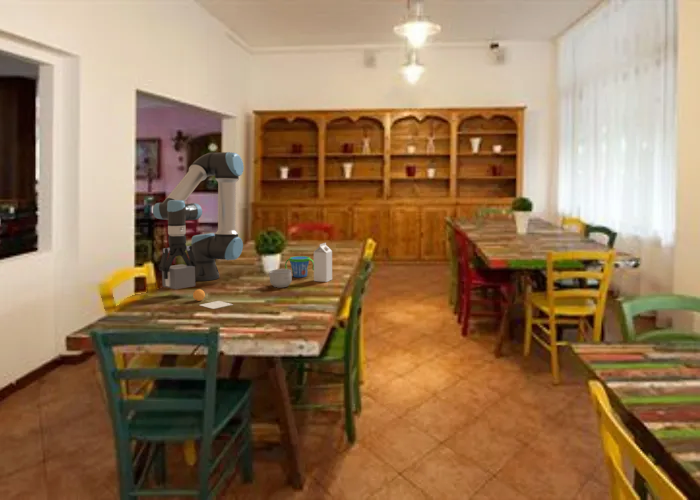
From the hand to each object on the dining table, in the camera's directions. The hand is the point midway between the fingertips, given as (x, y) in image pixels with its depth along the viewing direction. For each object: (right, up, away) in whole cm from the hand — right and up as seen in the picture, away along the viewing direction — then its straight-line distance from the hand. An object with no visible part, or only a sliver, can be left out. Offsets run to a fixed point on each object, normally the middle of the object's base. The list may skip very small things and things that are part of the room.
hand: (178, 284), depth 260 cm
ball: (+11, -4, -9) cm, 15 cm away
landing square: (+20, -8, -17) cm, 27 cm away
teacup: (+43, -2, +23) cm, 49 cm away
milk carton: (+63, 0, +36) cm, 73 cm away
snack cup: (+50, +1, +47) cm, 69 cm away
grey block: (0, -1, 0) cm, 1 cm away
